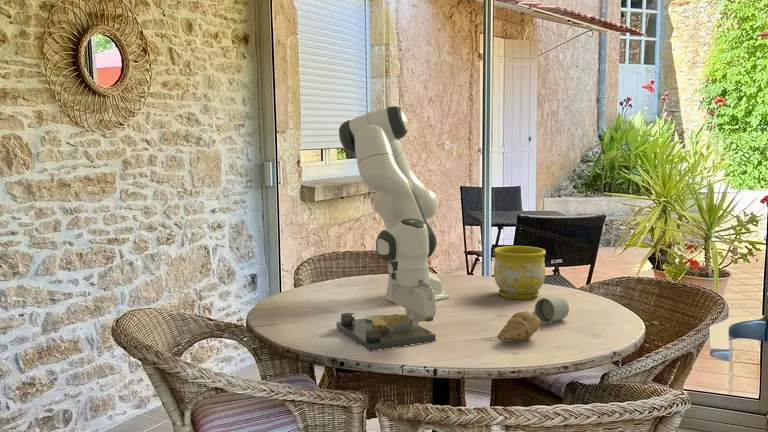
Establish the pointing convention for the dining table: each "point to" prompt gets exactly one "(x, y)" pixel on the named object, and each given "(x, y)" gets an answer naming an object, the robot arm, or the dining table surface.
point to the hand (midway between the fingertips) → (413, 325)
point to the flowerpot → (519, 271)
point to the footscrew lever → (392, 321)
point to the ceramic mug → (551, 309)
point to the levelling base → (382, 333)
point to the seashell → (520, 327)
